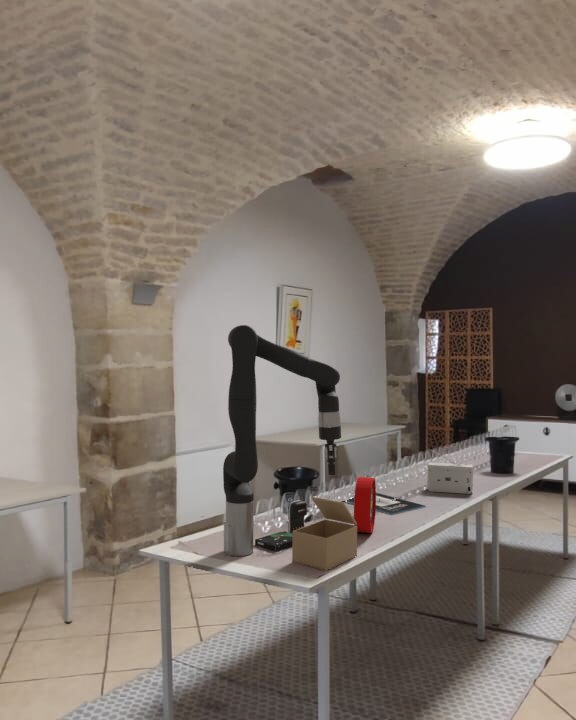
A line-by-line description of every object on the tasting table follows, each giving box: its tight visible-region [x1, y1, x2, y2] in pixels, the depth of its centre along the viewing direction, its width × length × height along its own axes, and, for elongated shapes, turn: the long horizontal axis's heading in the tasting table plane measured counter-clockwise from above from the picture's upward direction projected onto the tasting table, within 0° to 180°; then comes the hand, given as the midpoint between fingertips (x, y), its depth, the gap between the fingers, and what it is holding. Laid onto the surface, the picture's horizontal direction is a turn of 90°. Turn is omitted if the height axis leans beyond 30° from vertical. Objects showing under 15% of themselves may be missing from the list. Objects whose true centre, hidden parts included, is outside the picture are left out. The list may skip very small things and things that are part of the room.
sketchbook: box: [347, 492, 427, 516], centre depth 290 cm, size 22×30×2 cm
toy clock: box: [353, 476, 377, 534], centre depth 247 cm, size 20×6×20 cm, turn 167°
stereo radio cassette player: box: [427, 449, 474, 495], centre depth 315 cm, size 21×8×20 cm, turn 76°
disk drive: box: [254, 530, 293, 553], centre depth 231 cm, size 10×3×15 cm
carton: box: [291, 518, 358, 572], centre depth 215 cm, size 18×13×10 cm
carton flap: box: [311, 496, 357, 525], centre depth 219 cm, size 12×12×1 cm
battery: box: [287, 499, 308, 534], centre depth 245 cm, size 7×4×11 cm, turn 134°
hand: (331, 472), depth 226 cm, fingers open, 8 cm apart
